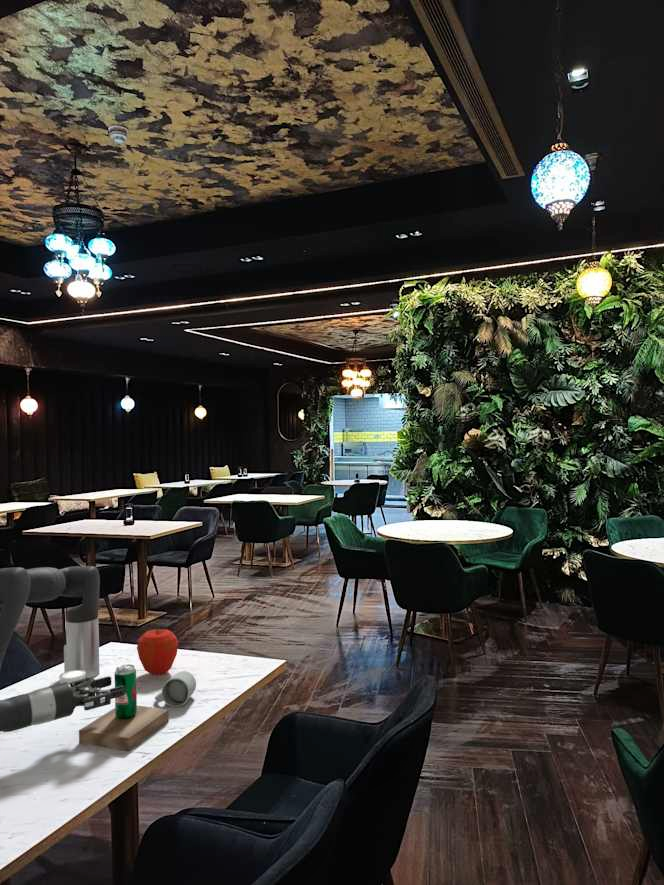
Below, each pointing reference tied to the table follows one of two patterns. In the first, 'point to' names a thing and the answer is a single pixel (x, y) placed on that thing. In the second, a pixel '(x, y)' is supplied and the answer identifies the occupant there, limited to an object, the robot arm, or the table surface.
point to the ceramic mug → (177, 689)
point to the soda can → (128, 702)
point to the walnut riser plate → (123, 728)
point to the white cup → (72, 676)
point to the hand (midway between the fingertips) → (117, 685)
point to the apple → (157, 651)
